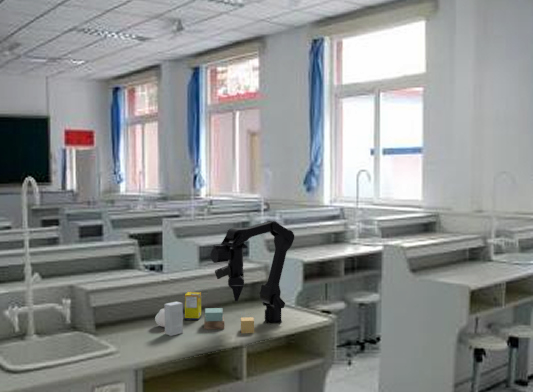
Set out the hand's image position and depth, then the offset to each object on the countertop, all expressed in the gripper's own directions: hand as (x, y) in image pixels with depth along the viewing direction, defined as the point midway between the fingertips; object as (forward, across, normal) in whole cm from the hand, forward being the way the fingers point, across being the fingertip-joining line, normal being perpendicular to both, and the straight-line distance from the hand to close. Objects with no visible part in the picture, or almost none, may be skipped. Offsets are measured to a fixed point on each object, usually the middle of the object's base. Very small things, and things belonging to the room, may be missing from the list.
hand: (236, 298), depth 237 cm
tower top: (+9, -4, -9) cm, 13 cm away
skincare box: (+12, +6, -25) cm, 28 cm away
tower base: (+13, -4, -9) cm, 16 cm away
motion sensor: (+12, -4, -29) cm, 32 cm away
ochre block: (+12, +4, +4) cm, 14 cm away
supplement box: (+12, -16, -19) cm, 28 cm away
